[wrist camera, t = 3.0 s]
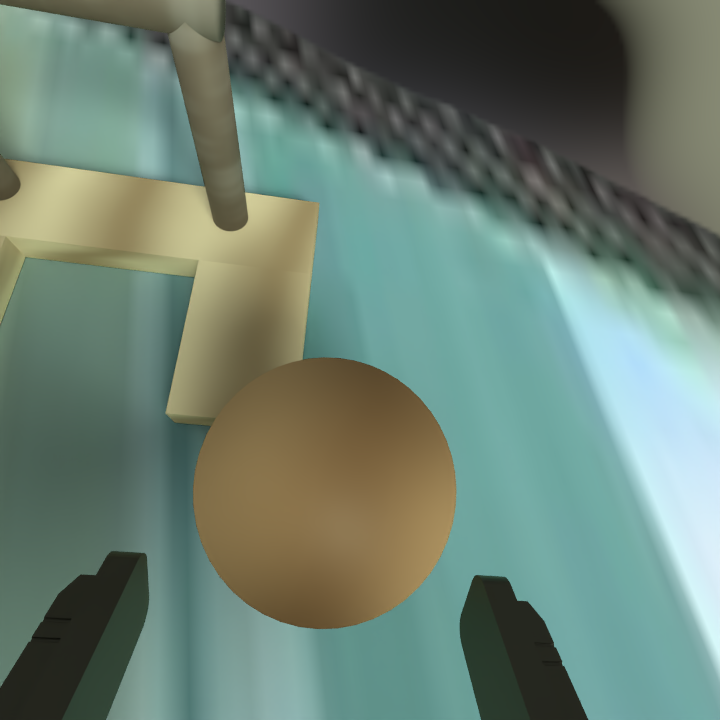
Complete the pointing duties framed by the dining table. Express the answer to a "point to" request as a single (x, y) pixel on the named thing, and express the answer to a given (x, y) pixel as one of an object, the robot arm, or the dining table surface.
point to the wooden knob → (324, 493)
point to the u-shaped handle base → (177, 220)
